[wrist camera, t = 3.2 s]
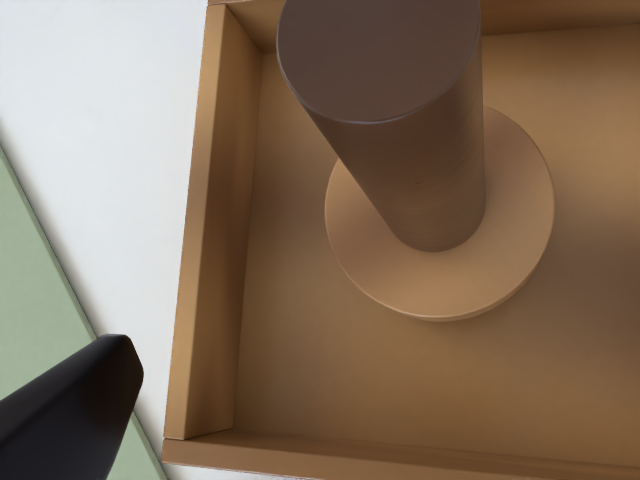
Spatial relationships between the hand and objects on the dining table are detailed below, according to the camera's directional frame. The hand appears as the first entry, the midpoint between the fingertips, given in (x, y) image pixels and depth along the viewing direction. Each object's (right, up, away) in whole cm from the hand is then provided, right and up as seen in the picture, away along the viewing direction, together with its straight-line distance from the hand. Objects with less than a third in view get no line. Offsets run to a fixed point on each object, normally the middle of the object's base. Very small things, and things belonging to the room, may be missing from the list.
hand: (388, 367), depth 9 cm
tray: (+3, +2, +11) cm, 12 cm away
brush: (+3, +2, +11) cm, 12 cm away
